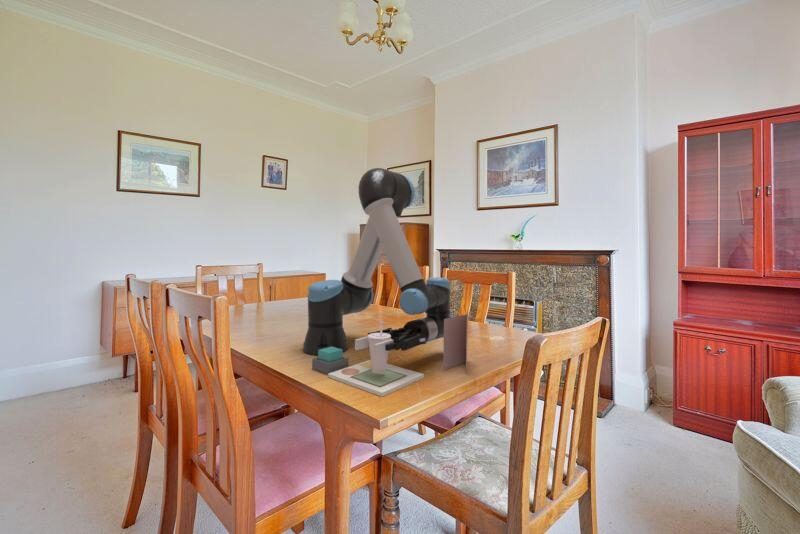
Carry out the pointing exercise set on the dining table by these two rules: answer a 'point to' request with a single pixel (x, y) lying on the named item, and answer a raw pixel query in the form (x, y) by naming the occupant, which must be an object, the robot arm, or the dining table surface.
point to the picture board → (376, 378)
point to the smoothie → (380, 360)
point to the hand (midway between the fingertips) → (365, 347)
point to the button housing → (329, 365)
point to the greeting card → (455, 341)
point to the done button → (330, 354)
